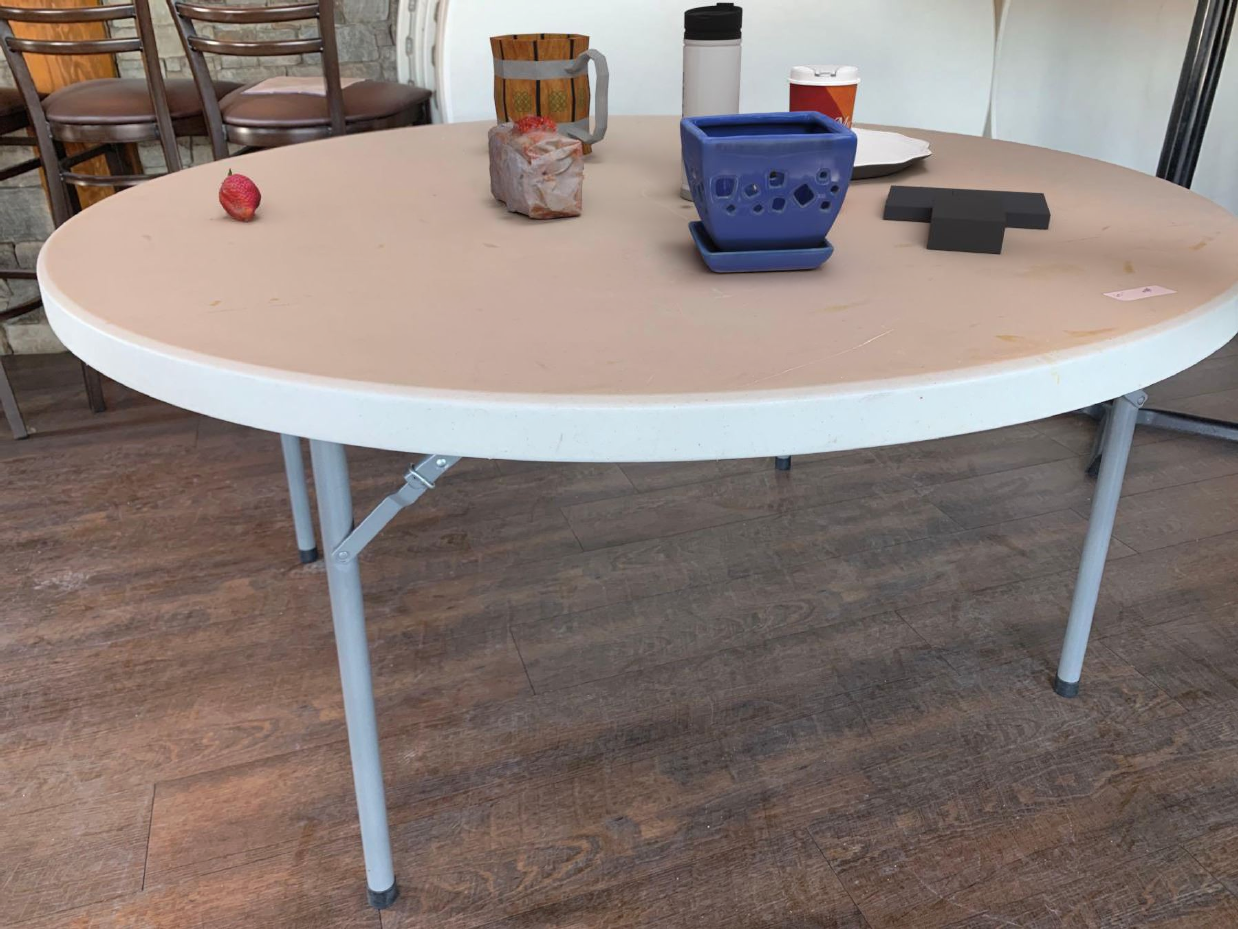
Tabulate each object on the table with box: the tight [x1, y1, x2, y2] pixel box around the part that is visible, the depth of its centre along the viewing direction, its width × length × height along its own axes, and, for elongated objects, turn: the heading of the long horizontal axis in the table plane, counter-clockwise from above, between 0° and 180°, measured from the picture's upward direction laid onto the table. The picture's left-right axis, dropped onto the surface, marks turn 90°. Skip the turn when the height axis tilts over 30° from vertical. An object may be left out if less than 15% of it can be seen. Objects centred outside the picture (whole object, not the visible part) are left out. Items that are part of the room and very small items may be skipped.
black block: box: [926, 188, 1006, 255], centre depth 94 cm, size 6×13×3 cm, turn 162°
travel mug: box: [680, 2, 744, 202], centre depth 106 cm, size 6×7×20 cm
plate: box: [770, 127, 933, 180], centre depth 127 cm, size 29×29×2 cm
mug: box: [489, 32, 610, 156], centre depth 131 cm, size 20×14×15 cm
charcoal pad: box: [882, 184, 1052, 230], centre depth 102 cm, size 16×10×2 cm, turn 72°
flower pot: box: [679, 111, 858, 273], centre depth 85 cm, size 13×13×12 cm
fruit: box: [218, 167, 262, 222], centre depth 103 cm, size 4×6×5 cm
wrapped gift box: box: [487, 113, 586, 220], centre depth 104 cm, size 14×8×10 cm, turn 28°
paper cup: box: [786, 64, 862, 129], centre depth 104 cm, size 8×8×14 cm
